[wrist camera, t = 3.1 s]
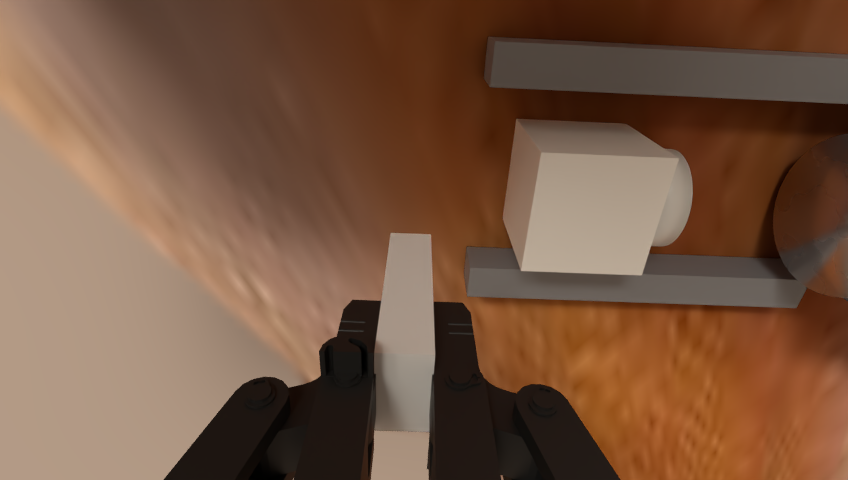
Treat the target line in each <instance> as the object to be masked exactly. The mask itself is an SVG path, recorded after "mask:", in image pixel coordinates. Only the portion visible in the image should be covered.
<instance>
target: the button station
mask: <svg viewBox="0 0 848 480" xmlns="http://www.w3.org/2000/svg"><path fill="white" fill-rule="evenodd" d="M773 232H774V239H775V243H776V247H777V250H778V252H779V255H780V257H781V259H782V261H783V263H784V265H785V266H786V268H787V269H788V271H789V272H790V273H791V274H792V275H793V276H794V278H796V279H797V280H798V281H799V282H800V283H801V284H803V285H804V286H806V287H807V288H809V289H811V290H813V291H815V292H817V293H820V294H823V295H826V296H832V297H842V298H844V299H845V300H847V301H848V134H843V135H838V136H835V137H832V138H829V139H827V140H825V141H823V142H821V143H819V144H817V145H816V146H814V147H812V148H811V149H810V150H808V151H807V152H806V153H805V154H804V155H802V156H801V158H800V159H799V160H798V161H797V162H796V163H795V164H794V165H793V167H792V168H791V169H790V171H789V172H788V174H787V175H786V177H785V179H784V181H783V183H782V185H781V187H780V190H779V192H778V195H777V198H776V202H775V207H774V214H773Z"/></svg>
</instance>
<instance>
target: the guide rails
mask: <svg viewBox="0 0 848 480" xmlns="http://www.w3.org/2000/svg"><path fill="white" fill-rule="evenodd" d="M484 80H485V81H486V82H487V84H488V85H489V87H496V88H517V89H538V90H560V91H581V92H603V93H624V94H645V95H667V96H688V97H709V98H731V99H752V100H773V101H795V102H816V103H837V104H848V54H830V53H809V52H789V51H769V50H749V49H729V48H709V47H688V46H668V45H648V44H628V43H608V42H587V41H567V40H547V39H527V38H507V37H488V42H487V51H486V61H485V71H484ZM464 279H465V285H466V292H467V296H469V297H497V298H525V299H553V300H582V301H610V302H638V303H666V304H694V305H723V306H751V307H779V308H797V306H798V304H799V302H800V300H801V298H802V297H803V295H804V293H805V291H806V289H807V287H806V286H804V285H803V284H801V283H800V282H799V281H798V280H797V279H796V278H794V276H793V275H792V274H791V273H790V272H789V271H788V269H787V268H786V266H785V265H784V263H783V261H782V259H778V258H751V257H725V256H699V255H673V254H648V257H647V261H646V264H645V267H644V270H643V273H642V275H617V274H590V273H562V272H535V271H521V270H520V267H519V264H518V261H517V258H516V255H515V253H514V250H513V248H489V247H466V257H465V267H464Z"/></svg>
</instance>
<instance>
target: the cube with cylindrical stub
mask: <svg viewBox="0 0 848 480" xmlns="http://www.w3.org/2000/svg"><path fill="white" fill-rule="evenodd" d="M692 196H693V184H692V176H691V171H690V168H689V165H688V163H687V161H686V159H685V158H684V156H683V155H682V154H681V153H680V152H678V151H677V150H674V149H664V148H662V147H661V146H659V145H658V144H656V143H655V142H653V141H652V140H650V139H649V138H647V137H646V136H644V135H643V134H641V133H639V132H638V131H636V130H635V129H633V128H632V127H630V126H629V125H627V124H623V123H601V122H579V121H557V120H535V119H516V125H515V132H514V140H513V147H512V154H511V161H510V168H509V175H508V183H507V190H506V197H505V204H504V211H503V218H502V219H503V221H504V224H505V227H506V230H507V233H508V236H509V238H510V241H511V244H512V247H513V250H514V253H515V255H516V258H517V261H518V264H519V267H520V270H521V271H535V272H562V273H590V274H617V275H642V273H643V270H644V267H645V264H646V261H647V257H648V254H649V251H650V248H651V246H667V245H669V244H671V243H673V242H674V241H675V240H676V239H677V238H678V237H679V235H680V234H681V232H682V231H683V229H684V227H685V225H686V223H687V220H688V217H689V214H690V210H691V205H692Z"/></svg>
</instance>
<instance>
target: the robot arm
mask: <svg viewBox="0 0 848 480" xmlns="http://www.w3.org/2000/svg"><path fill="white" fill-rule="evenodd" d="M319 356H320V369H321V376H320V377H319V378H318V379H316V380H314V381H312V382H310V383H306V384H303V385H299V386H294V387H290V388H288V387H287V385H286V384H285V383H284V382H283V381H282V380H279V379H277V378H273V377H262V378H256V379H253V380H251V381H249V382H247V383H244V384H243V385H242V386H241V387H240V388H239V389H237V390H236V391H235V392H234V394H233V395H232V396H231V397H230V398H229V400H228V401H227V402H226V404H225V405H224V406H223V407H222V408H221V410H220V411H219V412H218V413H217V415H216V416H215V417H214V418H213V420H212V421H211V422H210V423H209V424H208V426H207V427H206V428H205V429H204V431H203V432H202V433H201V434H200V435H199V437H198V438H197V439H196V441H195V442H194V443H193V444H192V445H191V447H190V448H189V449H188V450H187V452H186V453H185V454H184V455H183V456H182V458H181V459H180V460H179V461H178V463H177V464H176V465H175V466H174V468H173V469H172V470H171V471H170V472H169V474H168V475H167V476H166V478H165V479H164V480H293V478H294V480H370V479H371V469H372V461H373V451H374V428H375V430H377V431H410V432H430V436H429V450H428V464H427V469H429V480H501V476H500V475H503V479H504V480H620V478H619V477H618V475H617V474H616V472H615V471H614V469H613V468H612V466H611V465H610V463H609V462H608V460H607V459H606V457H605V456H604V454H603V453H602V451H601V450H600V448H599V447H598V445H597V444H596V442H595V441H594V439H593V438H592V436H591V435H590V433H589V432H588V430H587V429H586V427H585V426H584V424H583V423H582V421H581V420H580V418H579V417H578V415H577V414H576V412H575V411H574V409H573V408H572V406H571V405H570V403H569V402H568V400H567V399H566V398H565V397H564V396H563V395H562V394H561V393H560V392H558V391H557V390H555V389H553V388H551V387H548V386H545V385H541V384H531V385H528V386H525V387H522V388H521V389H520V390H519V391H518V392H517V394H516V393H512V392H509V391H505V390H502V389H500V388H497V387H495V386H494V385H492V384H490V383H489V382H488V381H487V380H486V379H485V378H484V377H483V375H482V373H481V372H480V370H479V366H478V359H477V353H476V346H475V340H474V335H473V327H472V320H471V313H470V312H469V310H468V309H467V308H466V307H465V305H464V304H463V303H455V302H433V277H432V249H431V234H410V233H391V234H390V241H389V249H388V256H387V263H386V270H385V278H384V285H383V292H382V299H381V301H370V300H352V301H351V302H350V303H349V304H348V305H347V306H346V307H345V308H344V310H343V314H342V318H341V322H340V326H339V331H338V334H337V337H334V338H332V339H330V340H328V341H327V342H326V343H324V344H323V345H322V347H321V349H320V351H319Z"/></svg>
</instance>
